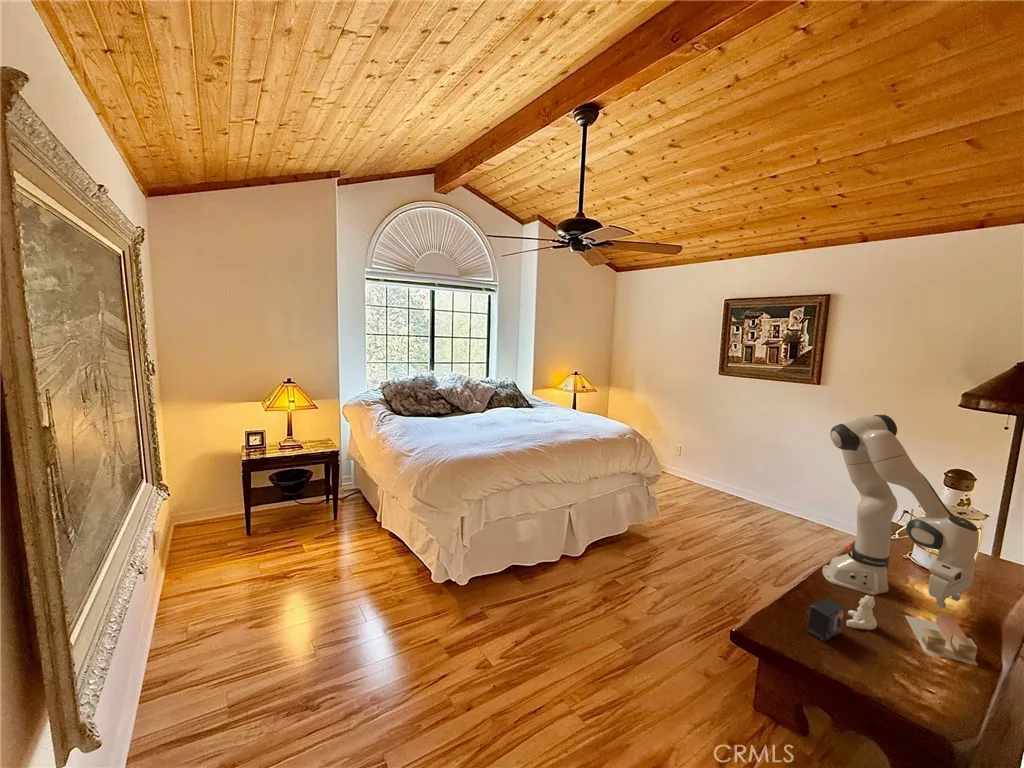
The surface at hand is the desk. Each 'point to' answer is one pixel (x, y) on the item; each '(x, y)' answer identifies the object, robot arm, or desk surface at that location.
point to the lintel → (949, 627)
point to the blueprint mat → (920, 624)
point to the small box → (825, 619)
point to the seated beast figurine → (863, 615)
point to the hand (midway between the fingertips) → (948, 603)
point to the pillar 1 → (933, 640)
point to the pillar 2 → (964, 647)
